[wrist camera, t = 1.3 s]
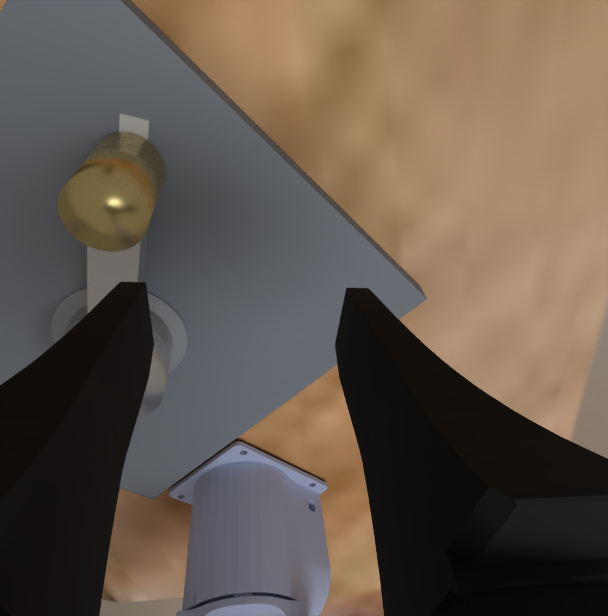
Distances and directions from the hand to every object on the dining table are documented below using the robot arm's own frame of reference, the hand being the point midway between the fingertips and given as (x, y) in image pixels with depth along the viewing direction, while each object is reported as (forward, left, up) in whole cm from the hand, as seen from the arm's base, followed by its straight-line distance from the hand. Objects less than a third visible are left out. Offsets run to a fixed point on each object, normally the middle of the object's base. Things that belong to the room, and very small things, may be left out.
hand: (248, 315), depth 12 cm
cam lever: (+1, +7, -8) cm, 10 cm away
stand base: (-1, +10, -9) cm, 14 cm away
